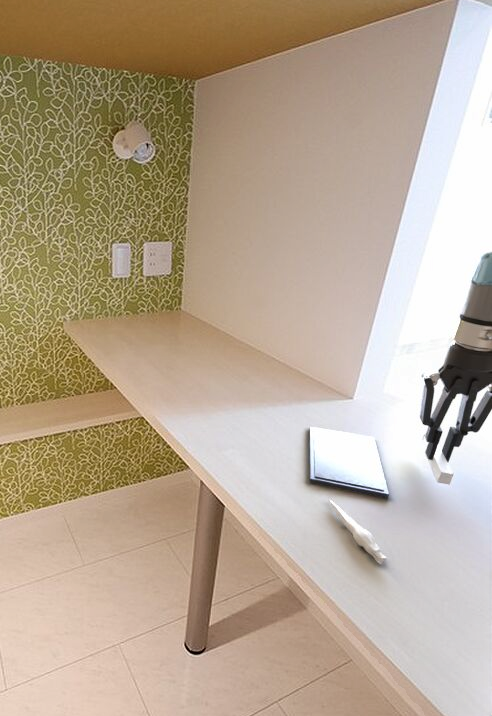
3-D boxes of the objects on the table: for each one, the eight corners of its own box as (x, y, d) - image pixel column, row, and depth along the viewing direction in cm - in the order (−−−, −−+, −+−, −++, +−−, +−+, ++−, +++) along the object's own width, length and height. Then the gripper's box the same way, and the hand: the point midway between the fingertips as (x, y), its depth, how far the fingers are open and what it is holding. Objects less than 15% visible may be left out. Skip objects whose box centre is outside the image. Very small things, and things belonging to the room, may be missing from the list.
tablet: (373, 440, 100) (374, 436, 100) (388, 498, 81) (389, 493, 81) (309, 430, 104) (310, 425, 104) (309, 482, 86) (310, 477, 85)
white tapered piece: (390, 565, 67) (394, 556, 66) (375, 568, 66) (378, 559, 66) (334, 502, 80) (336, 494, 79) (321, 504, 80) (323, 496, 79)
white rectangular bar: (429, 443, 94) (433, 433, 93) (449, 484, 81) (453, 474, 80) (419, 441, 95) (422, 431, 94) (437, 482, 81) (441, 472, 80)
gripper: (432, 346, 75) (397, 460, 85) (537, 357, 71) (487, 475, 81) (423, 334, 82) (391, 441, 92) (518, 343, 77) (474, 454, 87)
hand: (436, 457), depth 86 cm, fingers closed on white rectangular bar, 2 cm apart
